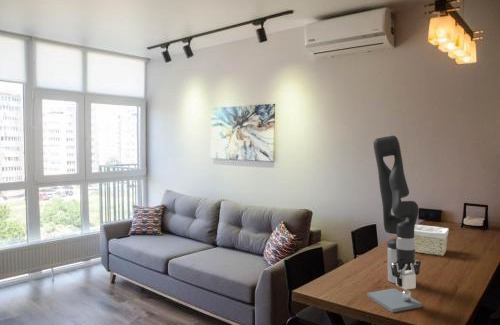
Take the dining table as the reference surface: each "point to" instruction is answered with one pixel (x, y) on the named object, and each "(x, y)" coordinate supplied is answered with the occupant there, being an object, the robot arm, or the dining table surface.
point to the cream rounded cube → (408, 280)
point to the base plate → (393, 300)
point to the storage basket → (430, 239)
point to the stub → (406, 296)
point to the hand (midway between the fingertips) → (405, 285)
